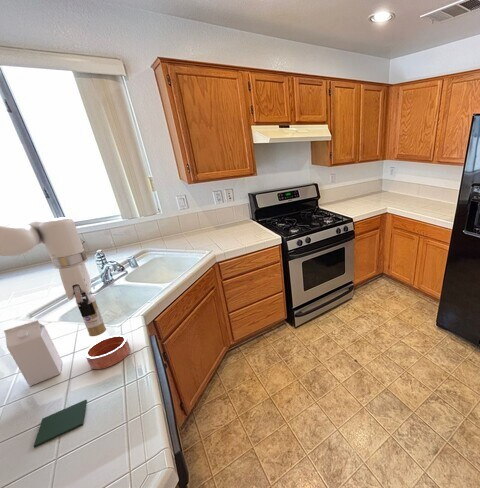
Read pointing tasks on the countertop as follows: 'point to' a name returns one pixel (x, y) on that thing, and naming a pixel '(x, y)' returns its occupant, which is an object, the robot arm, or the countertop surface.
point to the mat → (61, 423)
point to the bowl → (107, 352)
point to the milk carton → (33, 352)
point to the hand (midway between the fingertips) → (89, 311)
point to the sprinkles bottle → (94, 319)
